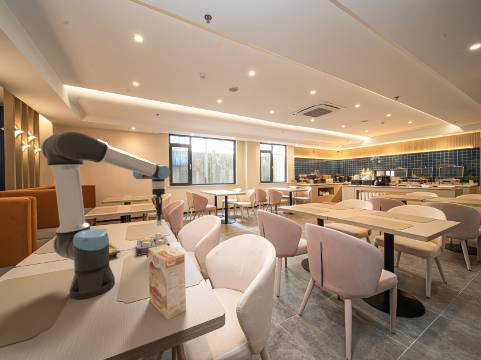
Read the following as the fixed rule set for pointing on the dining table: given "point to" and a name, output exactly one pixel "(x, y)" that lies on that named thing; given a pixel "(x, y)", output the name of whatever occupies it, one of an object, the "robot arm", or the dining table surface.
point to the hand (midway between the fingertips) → (159, 225)
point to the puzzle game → (113, 250)
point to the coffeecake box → (167, 280)
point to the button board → (153, 244)
